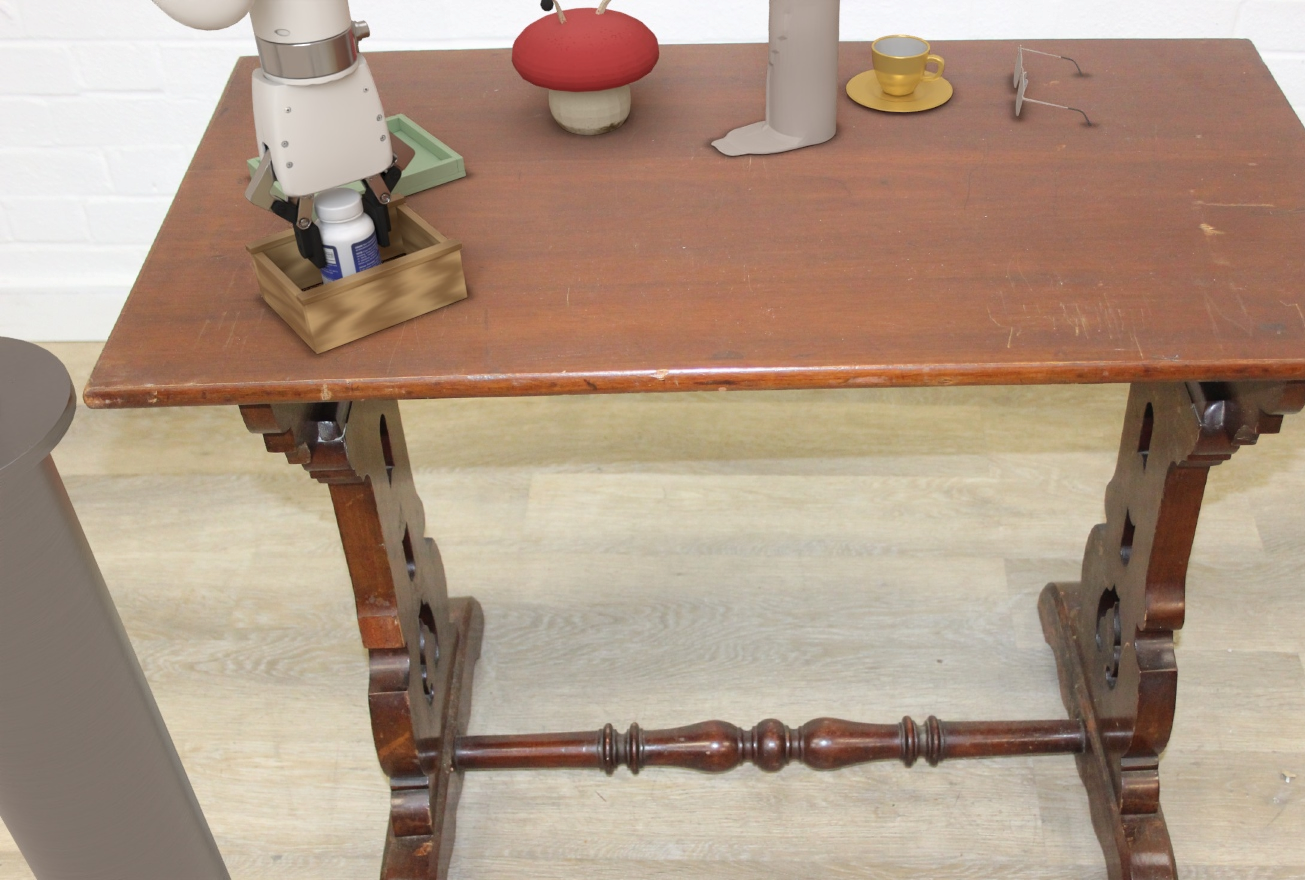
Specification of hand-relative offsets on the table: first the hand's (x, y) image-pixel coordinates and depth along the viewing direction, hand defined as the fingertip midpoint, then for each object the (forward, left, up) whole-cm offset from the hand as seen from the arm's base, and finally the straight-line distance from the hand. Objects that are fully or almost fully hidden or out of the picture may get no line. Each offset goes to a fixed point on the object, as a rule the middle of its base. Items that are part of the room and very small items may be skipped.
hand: (347, 249), depth 123 cm
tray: (+11, +22, -5) cm, 25 cm away
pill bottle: (0, 0, -4) cm, 4 cm away
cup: (+68, +2, -5) cm, 68 cm away
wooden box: (+1, 0, -5) cm, 5 cm away
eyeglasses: (+80, -10, -5) cm, 80 cm away
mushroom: (+37, +18, -5) cm, 41 cm away
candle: (+50, +2, -5) cm, 50 cm away
